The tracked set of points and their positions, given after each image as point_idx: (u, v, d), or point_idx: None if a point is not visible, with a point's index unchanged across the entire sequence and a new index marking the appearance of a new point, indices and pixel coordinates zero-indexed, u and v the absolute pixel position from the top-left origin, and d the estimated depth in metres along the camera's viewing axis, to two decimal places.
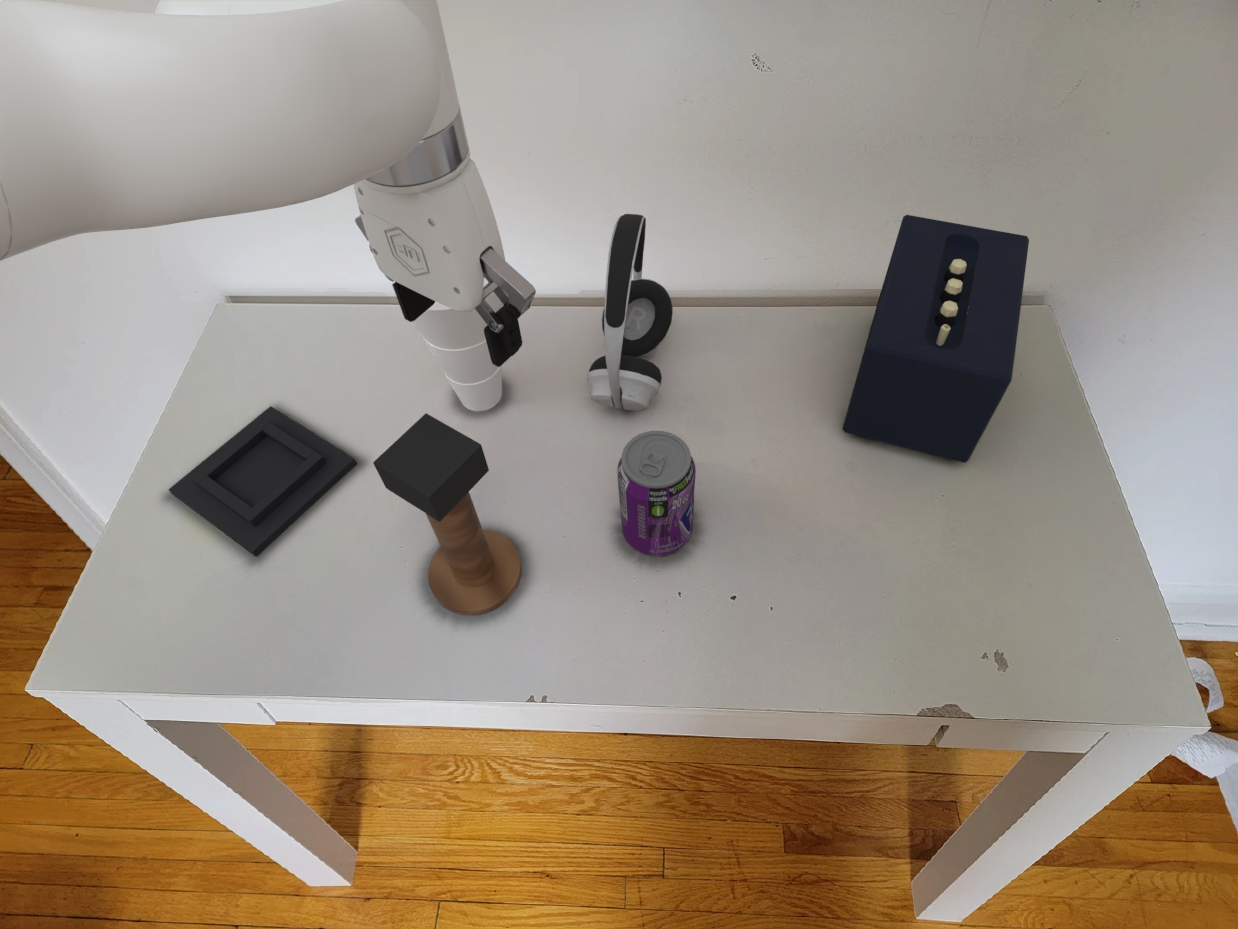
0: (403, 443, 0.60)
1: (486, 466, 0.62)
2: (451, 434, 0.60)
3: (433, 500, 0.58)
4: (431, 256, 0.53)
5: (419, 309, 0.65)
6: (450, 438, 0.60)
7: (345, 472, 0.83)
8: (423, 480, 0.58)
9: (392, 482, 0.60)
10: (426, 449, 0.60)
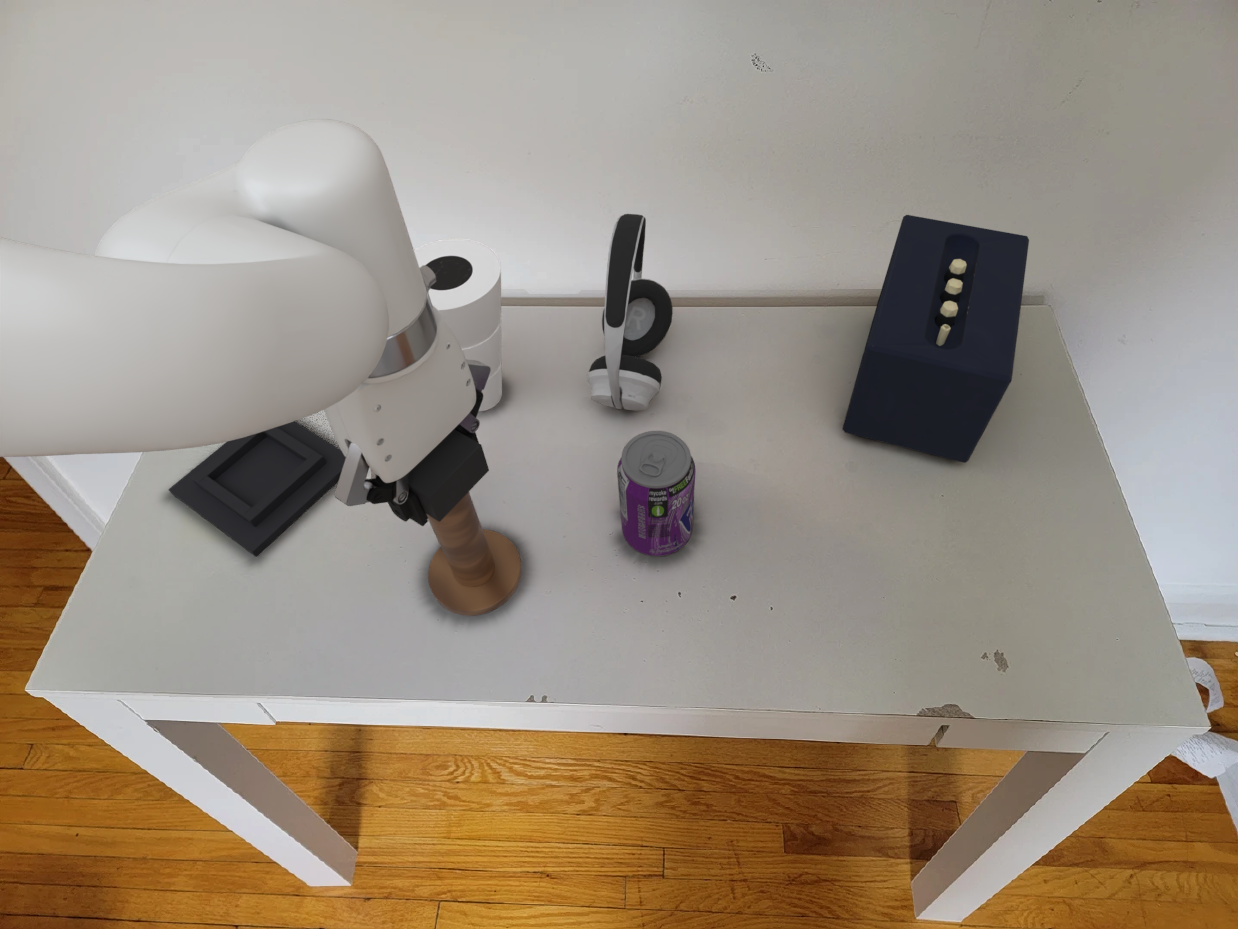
0: None
1: (486, 466, 0.62)
2: (451, 434, 0.60)
3: (433, 500, 0.58)
4: None
5: None
6: (450, 438, 0.60)
7: None
8: (423, 480, 0.58)
9: None
10: None
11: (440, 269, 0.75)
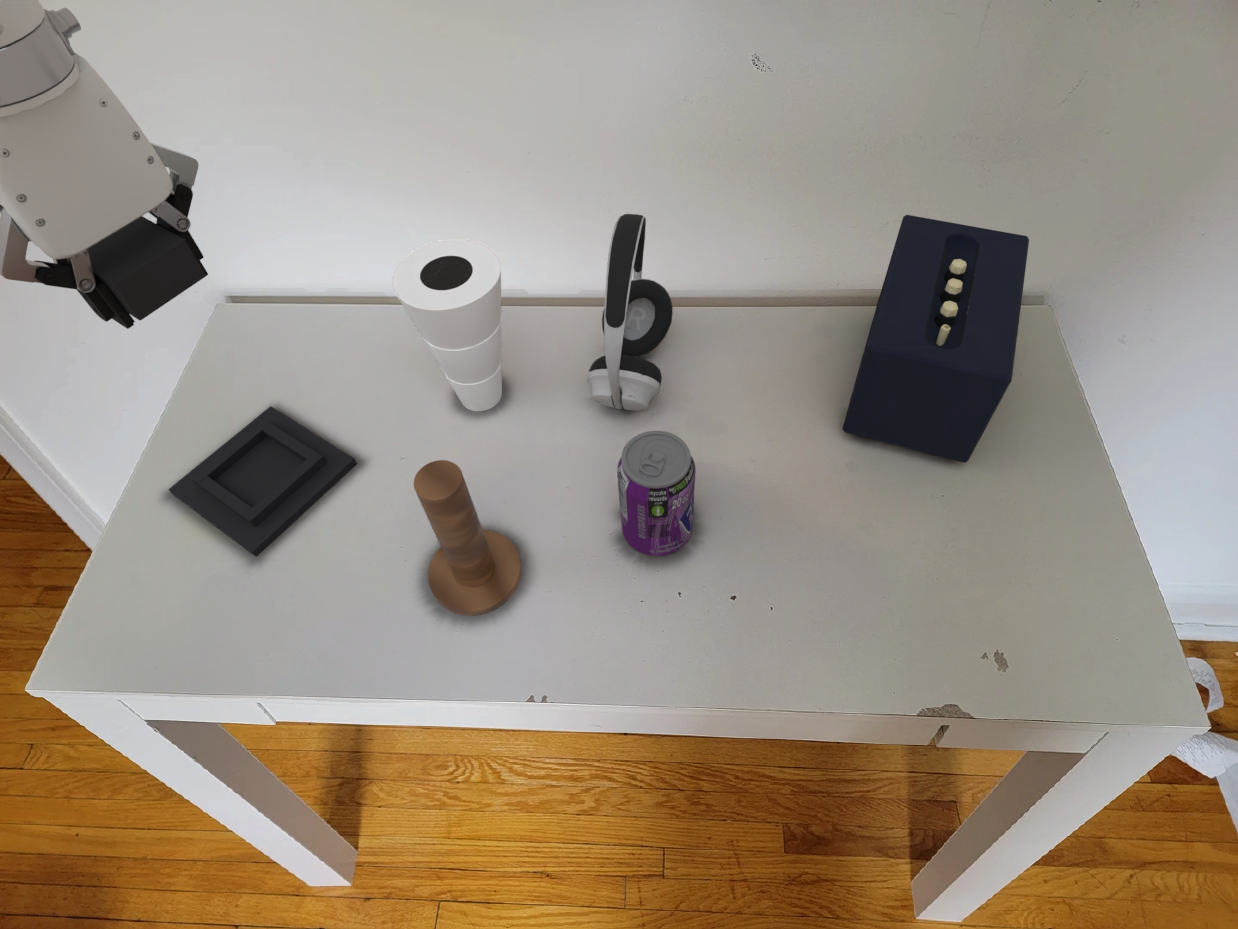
0: (104, 239, 0.57)
1: (200, 269, 0.59)
2: (156, 231, 0.58)
3: (122, 290, 0.55)
4: None
5: None
6: (154, 234, 0.57)
7: (345, 472, 0.83)
8: (113, 269, 0.55)
9: None
10: (126, 244, 0.57)
11: (440, 269, 0.75)
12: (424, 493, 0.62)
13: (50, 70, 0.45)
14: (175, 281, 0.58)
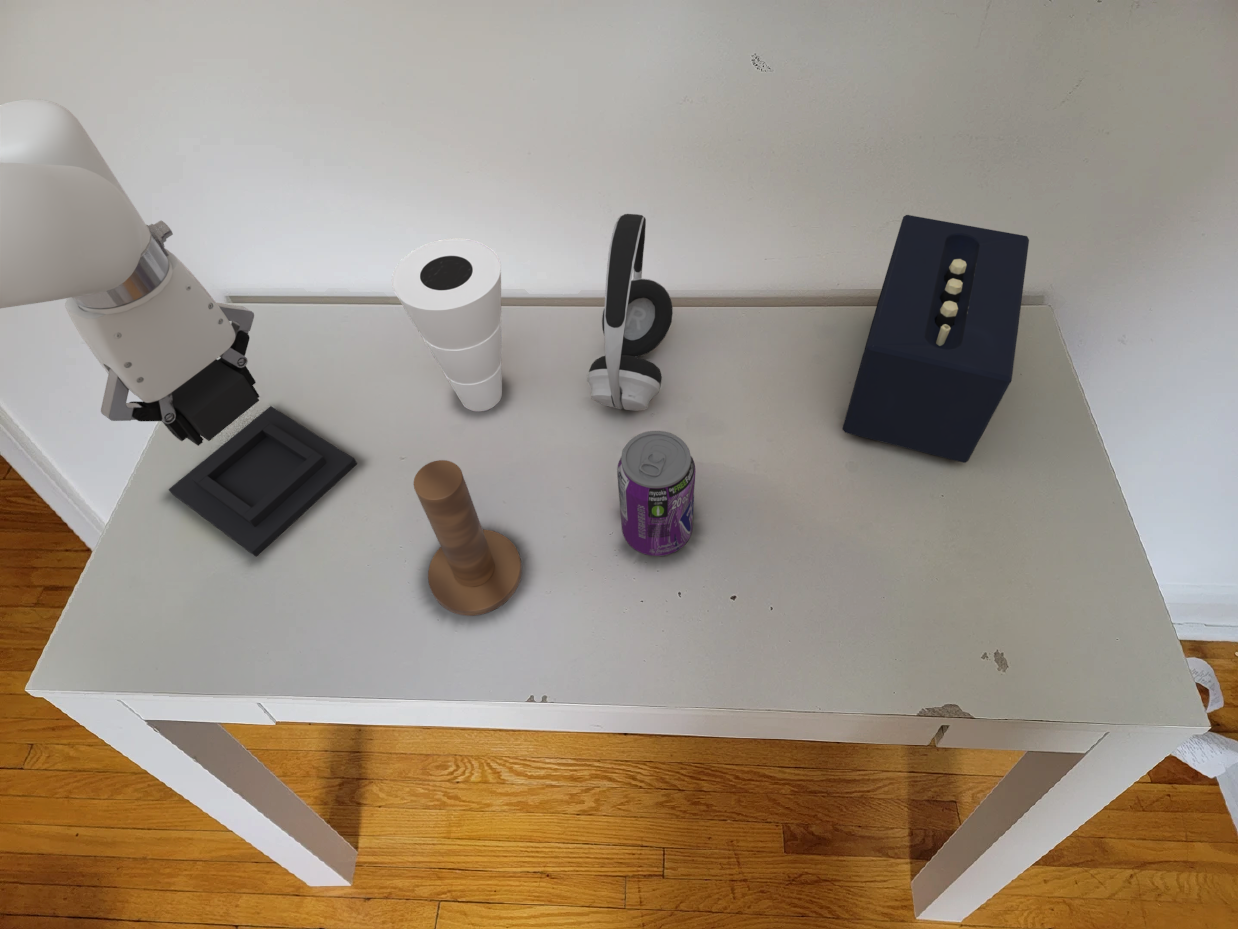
0: None
1: (255, 396, 0.73)
2: (221, 368, 0.72)
3: (196, 421, 0.69)
4: None
5: None
6: (219, 371, 0.72)
7: (345, 472, 0.83)
8: (189, 404, 0.70)
9: None
10: (197, 380, 0.71)
11: (440, 269, 0.75)
12: (424, 493, 0.62)
13: (154, 276, 0.60)
14: (236, 408, 0.72)
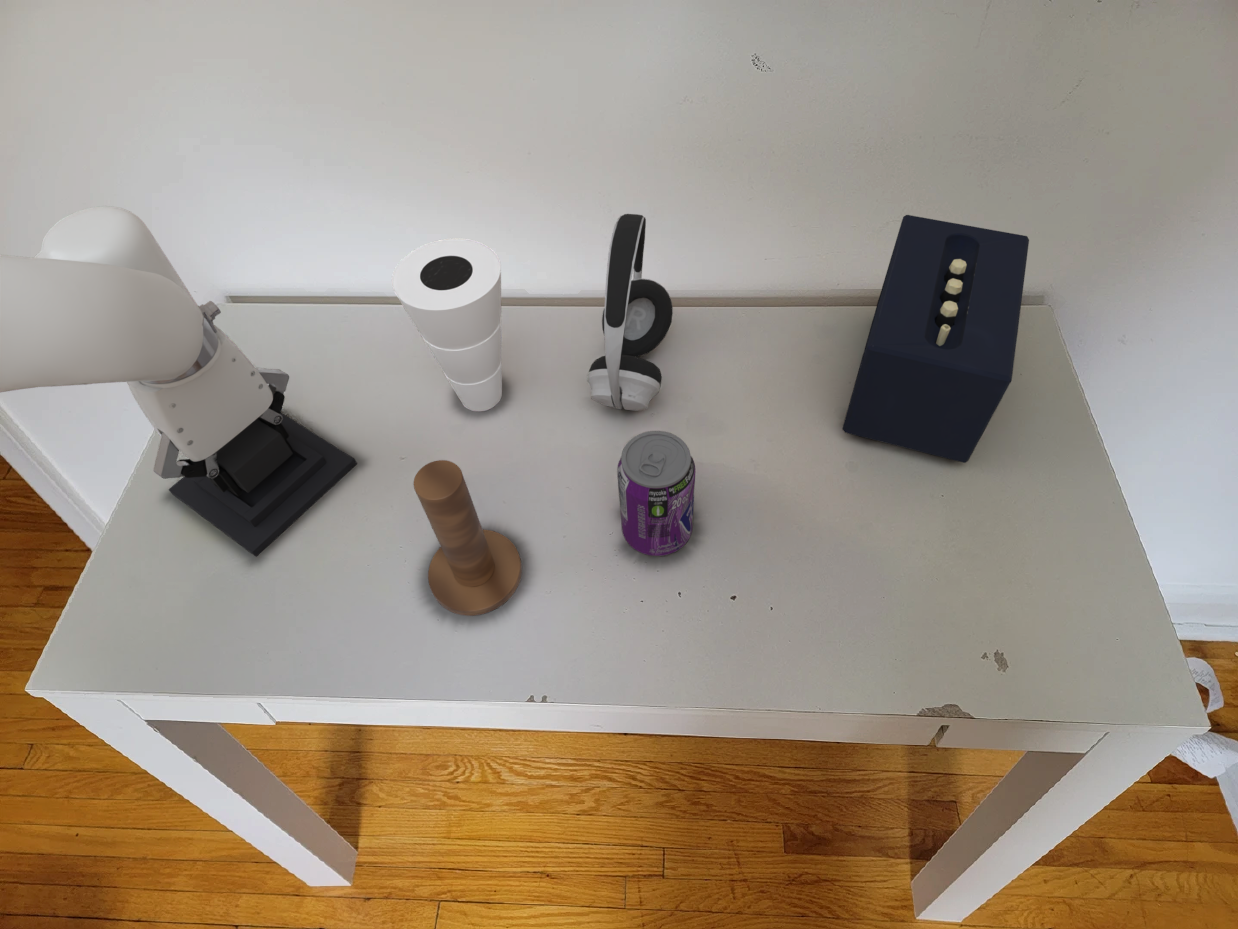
0: None
1: (289, 450, 0.80)
2: (259, 425, 0.79)
3: (238, 475, 0.76)
4: None
5: None
6: (257, 429, 0.79)
7: (345, 472, 0.83)
8: (231, 460, 0.76)
9: None
10: (238, 437, 0.78)
11: (440, 269, 0.75)
12: (424, 493, 0.62)
13: (206, 353, 0.66)
14: (272, 462, 0.79)
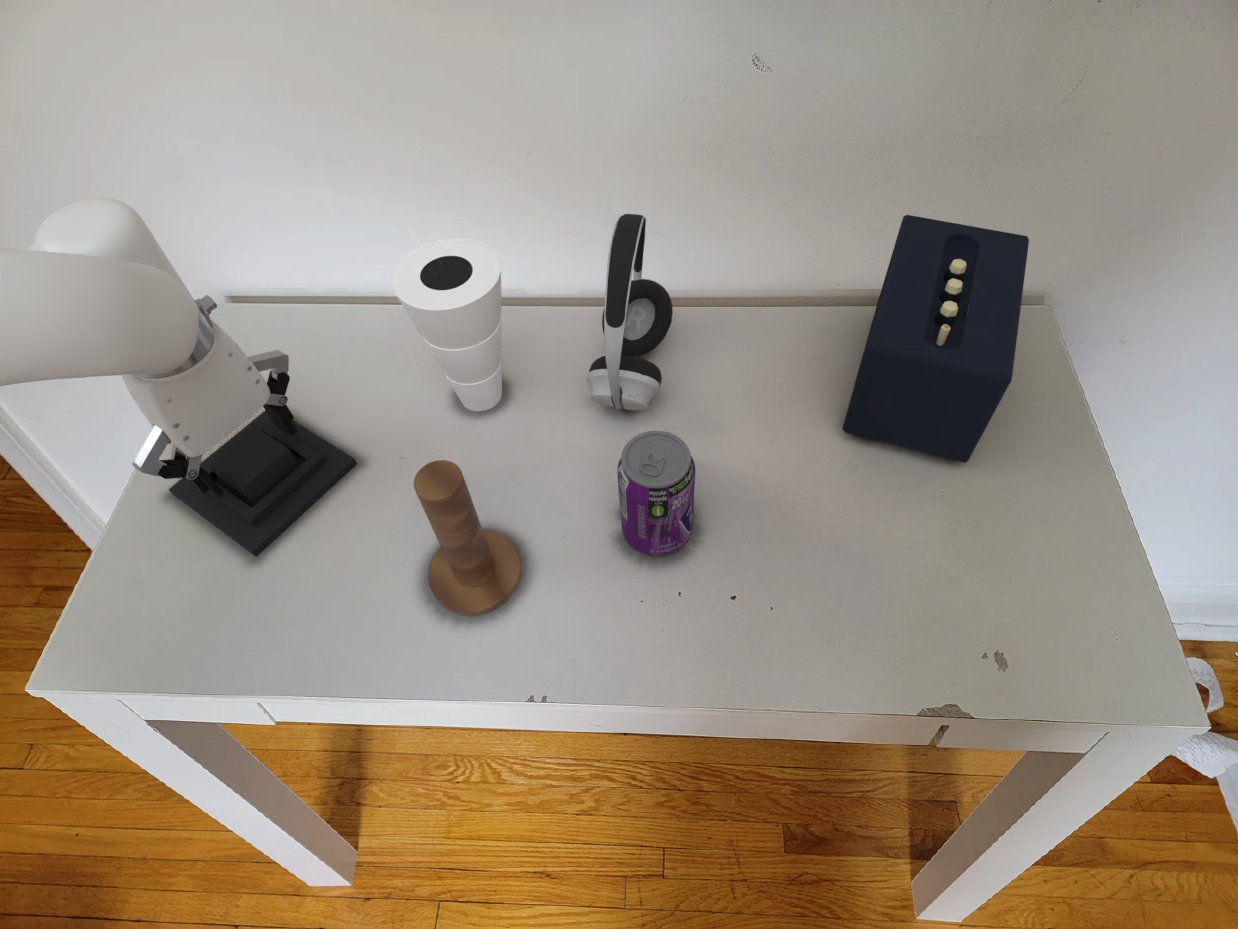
0: (231, 447, 0.80)
1: (297, 464, 0.82)
2: (267, 440, 0.81)
3: (247, 490, 0.78)
4: None
5: (278, 424, 0.82)
6: (266, 443, 0.80)
7: (345, 472, 0.83)
8: (240, 474, 0.78)
9: (221, 476, 0.80)
10: (247, 452, 0.80)
11: (440, 269, 0.75)
12: (424, 493, 0.62)
13: (202, 347, 0.66)
14: (281, 476, 0.81)
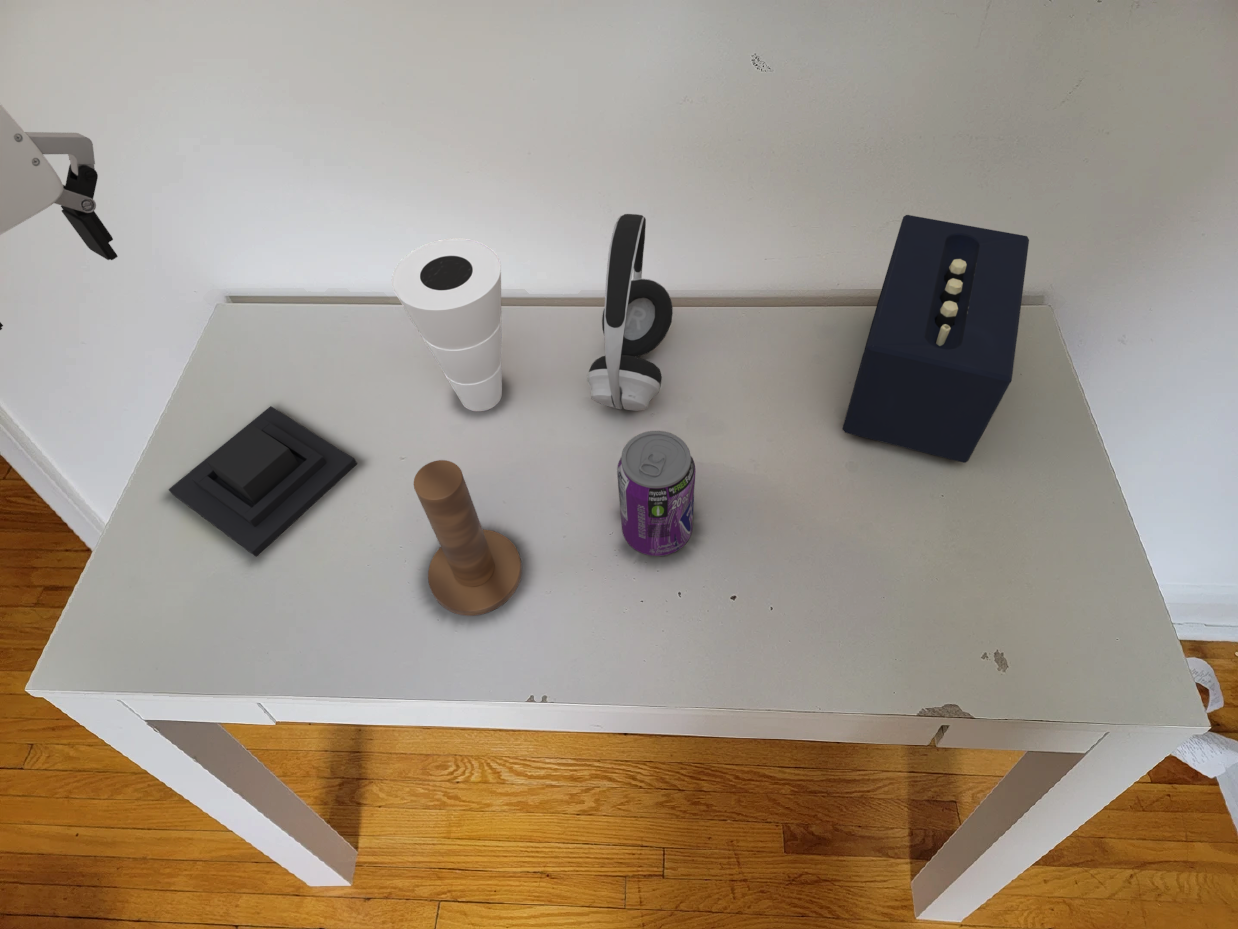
0: (231, 447, 0.80)
1: (297, 464, 0.82)
2: (267, 440, 0.81)
3: (247, 490, 0.78)
4: None
5: (92, 247, 0.61)
6: (266, 443, 0.80)
7: (345, 472, 0.83)
8: (240, 474, 0.78)
9: (221, 476, 0.80)
10: (247, 452, 0.80)
11: (440, 269, 0.75)
12: (424, 493, 0.62)
13: None
14: (281, 476, 0.81)
